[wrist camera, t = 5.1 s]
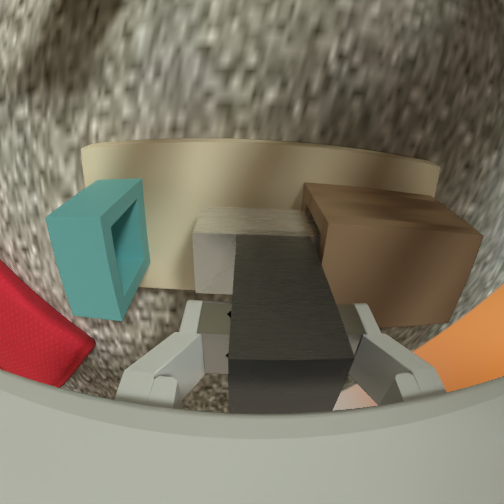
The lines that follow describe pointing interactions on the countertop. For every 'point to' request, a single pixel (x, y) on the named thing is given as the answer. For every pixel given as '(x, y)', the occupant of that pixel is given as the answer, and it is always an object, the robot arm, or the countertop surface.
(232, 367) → the grey l-shaped block
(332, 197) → the walnut sleeve
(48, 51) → the countertop surface
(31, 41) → the countertop surface
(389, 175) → the stand board
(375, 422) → the robot arm
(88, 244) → the teal socket
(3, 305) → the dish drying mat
